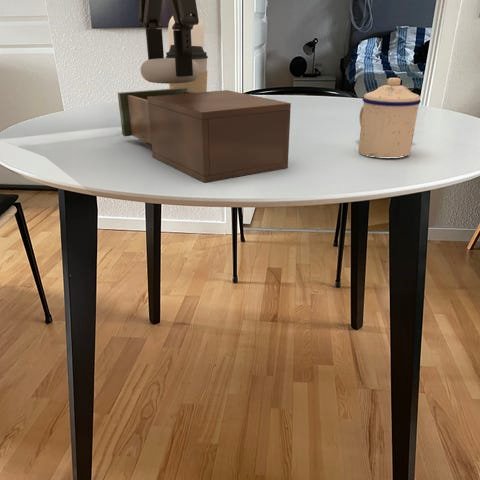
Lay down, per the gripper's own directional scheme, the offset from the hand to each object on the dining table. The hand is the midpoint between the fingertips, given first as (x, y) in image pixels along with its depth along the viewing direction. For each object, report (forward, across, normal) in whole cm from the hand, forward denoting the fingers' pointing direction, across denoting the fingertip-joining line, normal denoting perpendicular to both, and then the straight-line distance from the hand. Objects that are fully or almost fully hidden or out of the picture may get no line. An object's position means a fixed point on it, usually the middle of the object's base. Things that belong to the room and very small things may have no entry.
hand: (170, 73), depth 85 cm
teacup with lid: (+12, -24, -27) cm, 38 cm away
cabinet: (+12, -15, 0) cm, 19 cm away
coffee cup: (+12, +21, -14) cm, 28 cm away
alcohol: (+12, +42, -25) cm, 50 cm away
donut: (+1, 0, 0) cm, 1 cm away
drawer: (+11, 0, 0) cm, 11 cm away
